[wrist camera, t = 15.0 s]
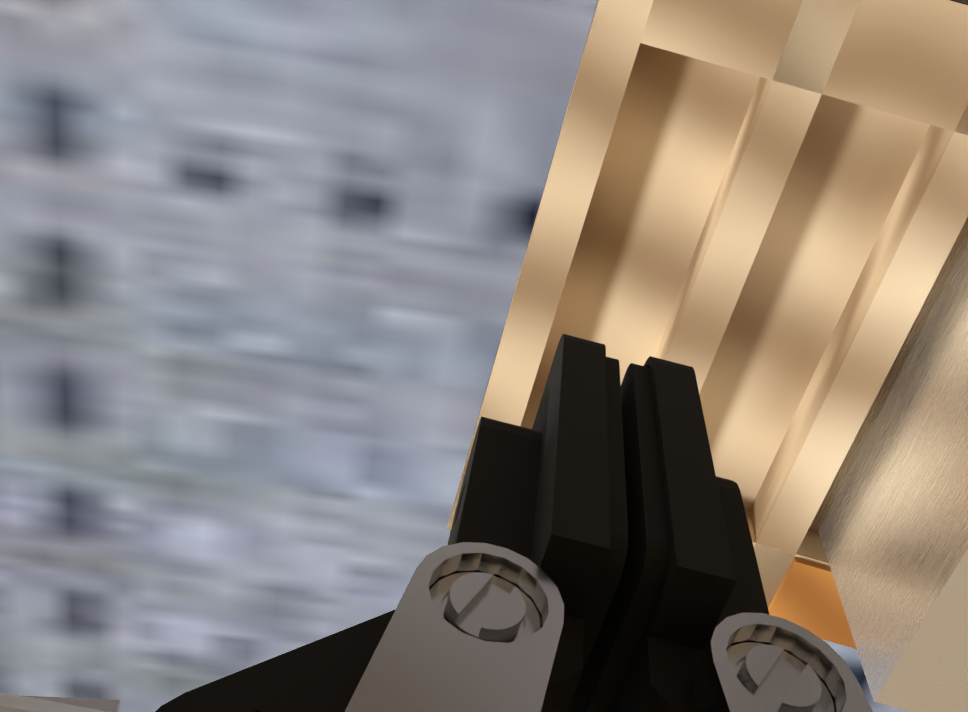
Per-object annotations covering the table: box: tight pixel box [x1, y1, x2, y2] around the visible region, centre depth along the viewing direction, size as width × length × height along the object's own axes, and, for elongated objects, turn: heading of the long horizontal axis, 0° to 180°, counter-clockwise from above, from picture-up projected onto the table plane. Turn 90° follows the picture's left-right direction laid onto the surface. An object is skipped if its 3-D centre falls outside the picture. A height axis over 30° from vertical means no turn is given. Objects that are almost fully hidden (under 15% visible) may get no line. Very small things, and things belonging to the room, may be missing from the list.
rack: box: [447, 0, 968, 649], centre depth 32 cm, size 22×18×3 cm
